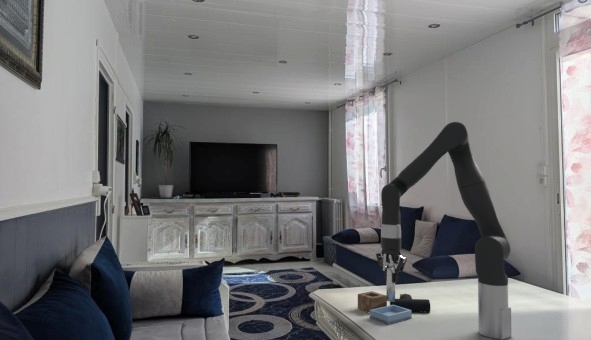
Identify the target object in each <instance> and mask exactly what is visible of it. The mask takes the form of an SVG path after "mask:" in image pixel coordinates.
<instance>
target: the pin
mask: <svg viewBox="0 0 591 340" xmlns="http://www.w3.org/2000/svg"><path fill="white" fill-rule="evenodd" d="M392 273H393V272H392V267H390V268H387V281H386V295H387V302H389V303H390V302H394V301H395V299H396V283H392Z"/></svg>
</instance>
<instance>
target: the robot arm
mask: <svg viewBox="0 0 591 340" xmlns="http://www.w3.org/2000/svg"><path fill="white" fill-rule="evenodd" d="M469 138H470V137H469V131H468V128H467V126H466V125H465V124H464V123H462V122H459V121H452V122H448V123H447V124H446V125H445V126H444V127H443V128H442V130H440V132H439V134H438V135H437V136H435V138H434V139H433V141H432V142H431V143H430V144H429V145H428V146H427V147H426V148H425V149H424V150H423V151H422V152H421V153H420V154H419V155H418V156H416V158H415V159H414V160H412V162H410V163H409V164H408V165H406V167H405V168H404V169H402V171H400V173H398V175H397V176H396V177H395V178H394V179H393V180H392V181H390V182H389V183H388V184H386V185H384V186H383V187H382V189H381V192H380V195H381V196H380V197H381V198H380V199H381V200H380V201H381V227H380V228H381V229H380V248H381V250H380V251H381V252H377V253H376V254H375V257H376V259H377V263H378V267H379V269H381V270H382V271H383V280H384V282H387V268H392V272H393V273H392V283H395V284H396V283H398V282H399V273H401V272H403V271H404V269H405V267H406V263H407V260H408V259H407V257H406V256H405V257H404V256H403V255H402V253H401V249H402V228H401V218H402V217H401V211H400V208H401V207H400V205H401V204H400V203H401V198H402V196H404V194H406V193H407V192H408V190H409V189H411V188H412V187H413V186H415V185H416V184H417V183H419V181H420V180H422V179H423V178H424V177H425V176H427V174H428V173H429V172H430V171H431V170H432V169H433V167H434V165H435V164H436V163H437V162H438V161H439V160H440V159H441V158H442V157H443V156H444V155H445V154H446V155H447V153H448V155H449V158H450V160H451V162H452V165H453V170H454V175H455V176H454V177H455V179H456V184H457V188H458V191H459V194H460V197H461V199H462V202H463V204H464V206H465V208H466V209H467V211H468V212H469V214H470V216H471V217H472V218H473V219H474V221H475V224H476V225H477V227H478V231H479V233H480V236H481V237H480V238H479V239H478V240H477V241H476V243H475V247H474V264H475V273H476V276H477V292H478V293H477V304H478V305H477V306H478V307H477V309H478V310H477V311H478V312H477V313H478V314H477V316H478V320H477V321H478V322H477V323H478V325H477V327H478V334H480V335H482V336H483V337H486V338H489V339H496V340H497V339H498V340H505V339H508V338H510V337H512V308H511V307H510V306H509V278H508V275H507V274H506V273H505V260H506V259H508V258H509V256H510V254H511V245H510V242H509V240H508V238H507V236H506V234H505V232H504V230H503V227H502V226H501V223H500V221H499V219H498V216H497V213H496V210H495V207H494V202H493V201H492V197H491V195H490V191H489V189H488V186H487V183H486V179H485V178H484V176H483V173H482V172H481V170H480V168H479V166H478V165H477V163H476V161H475V159H474V157H473V153H472V149H471V146H470V145H471V144H470V139H469Z"/></svg>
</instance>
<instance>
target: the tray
mask: <svg viewBox="0 0 591 340" xmlns="http://www.w3.org/2000/svg"><path fill="white" fill-rule="evenodd" d="M412 313H413V312H412V310H409V309H406V308H402V307H399V306H396V305H390V304H389V305H387V306H385V307H381V308H377V309H372V310H370V313H369V318H370V319H372V320H373V321H377V322H380V323H383V324H385V325H392V324H396V323H399V322H403V321H407V320H411V319H412V317H413V316H412Z"/></svg>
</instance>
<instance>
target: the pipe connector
mask: <svg viewBox="0 0 591 340" xmlns="http://www.w3.org/2000/svg"><path fill="white" fill-rule="evenodd" d="M390 305H396V306H399V307H402V308H406V309H409V310H412V313H430V312H431V301H430V300H429V299H425V298H419V299H418V298H417V299H416V298H413V297H412V295H411V294H410V293H402V294H401V293H399V298H395V301H394V302H389V306H390Z"/></svg>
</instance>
